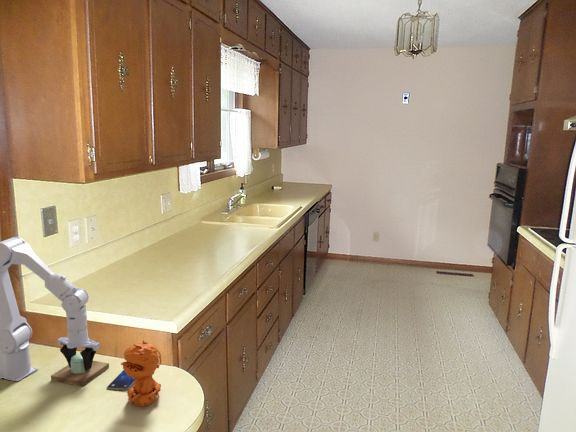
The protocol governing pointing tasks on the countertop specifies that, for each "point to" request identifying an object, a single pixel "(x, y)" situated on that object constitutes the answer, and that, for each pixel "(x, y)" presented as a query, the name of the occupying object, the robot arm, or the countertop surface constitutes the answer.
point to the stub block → (79, 374)
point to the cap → (77, 364)
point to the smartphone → (121, 382)
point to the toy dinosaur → (142, 372)
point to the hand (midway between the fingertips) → (80, 367)
